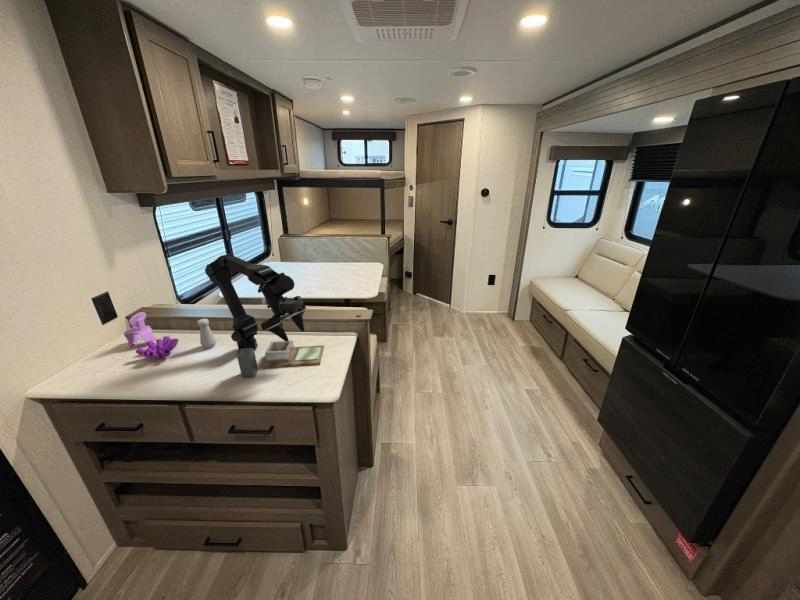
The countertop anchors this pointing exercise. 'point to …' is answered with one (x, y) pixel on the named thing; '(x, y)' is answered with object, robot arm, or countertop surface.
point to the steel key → (247, 363)
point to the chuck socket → (279, 351)
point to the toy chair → (139, 329)
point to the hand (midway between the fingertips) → (295, 336)
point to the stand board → (300, 357)
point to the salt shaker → (206, 334)
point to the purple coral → (158, 348)
